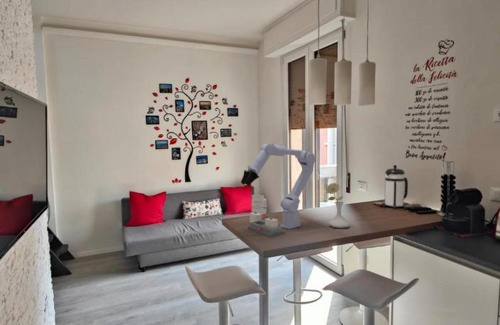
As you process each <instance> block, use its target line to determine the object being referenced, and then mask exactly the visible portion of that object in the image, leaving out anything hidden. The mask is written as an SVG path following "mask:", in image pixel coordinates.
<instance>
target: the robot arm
mask: <svg viewBox="0 0 500 325" xmlns="http://www.w3.org/2000/svg"><path fill="white" fill-rule="evenodd" d="M285 155H287V156H288V155H289V156H294V157H295V159H296V160H297V162H298V163H299V165H300V166H301V168H302V170H301V172H300V174H299V176H298V178H297V179H296V181H295V182H294V185H293V186H292V189H291V191H290V192H289V193H288V194H286V195H285V197H284V198H282V200H281V201H280V207H281V208H282V224H280V225H279V226H280V227H282V228H285V229H289V230H291V229H295V228H298V227H302V225H301V214H300V211H299V205H300V202H301V200H300V196H301V194H302V193H303V190H304V188H305V186H306V185H307V182H308V181H309V179H310V177H311V175H312V174H313V172H314V165H315V162H316V160H317V159H316V155H315V154H314V153H313V152H309V151H306V150H303V149H293V148H286V147H285V145H283V144H274V143H271V144H270V143H264V144H263V145H261V147H260V151H259V153H258V154H257V156H256V157H255V159H254V160H253V161H252V163H251V165H247V168H248V169H247V170H246V169H245V170H244V171H243V176H242V178H241V180H240V183H241V184H242V185H243V186H244V185H246V186H250V185H251V184H252V183H253V182H255V180H257V179H259V178H260V176H259V174H260V173H261V170H262V169H263V167H264V166H265V164H266V162H267V161H268V159H269V158H270V157H271V156H276V157H284V156H285Z"/></svg>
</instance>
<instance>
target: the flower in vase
mask: <svg viewBox="0 0 500 325" xmlns="http://www.w3.org/2000/svg"><path fill="white" fill-rule="evenodd" d="M339 190H340V184H339V183H337V182H331V183H329V184H328V185H327V186H326V188H325V191H326V193H327V194H330V195H331V194H334V196H330V197H328V199H327V200H330V201H334V200H335V202H334V203H335V206H336V215H335V216H334V217H333V218H331V219H330V220H329V221H328V225H329V226H330V227H333V228H338V229H339V228H341V229H342V228H348V227H349V226H350V222H349V221H348V220H347V219H346V218H345V217H344V216H343V215H342V208H343V206H344V201H342V200H343V198H344V195H342V196H339V197H338V198H336V194H335V193H337V192H338V191H339Z"/></svg>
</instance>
